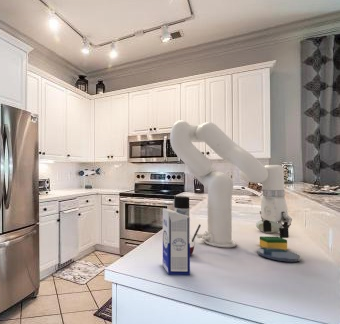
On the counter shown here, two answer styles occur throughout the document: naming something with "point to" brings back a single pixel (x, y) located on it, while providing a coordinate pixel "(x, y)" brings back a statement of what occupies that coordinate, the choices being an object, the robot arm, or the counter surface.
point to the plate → (278, 254)
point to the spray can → (182, 204)
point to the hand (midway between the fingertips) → (275, 234)
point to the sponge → (273, 242)
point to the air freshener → (274, 226)
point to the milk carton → (176, 242)
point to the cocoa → (193, 241)
